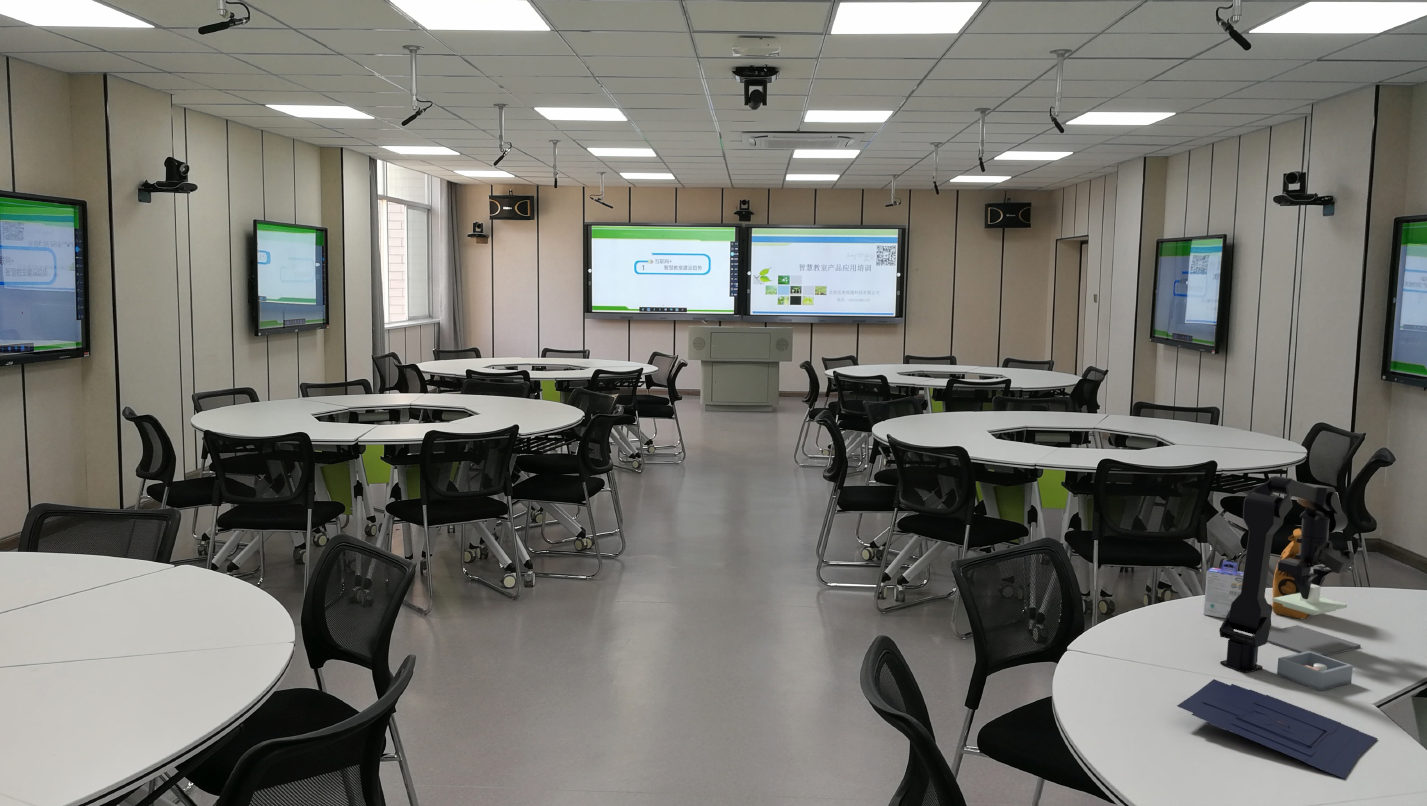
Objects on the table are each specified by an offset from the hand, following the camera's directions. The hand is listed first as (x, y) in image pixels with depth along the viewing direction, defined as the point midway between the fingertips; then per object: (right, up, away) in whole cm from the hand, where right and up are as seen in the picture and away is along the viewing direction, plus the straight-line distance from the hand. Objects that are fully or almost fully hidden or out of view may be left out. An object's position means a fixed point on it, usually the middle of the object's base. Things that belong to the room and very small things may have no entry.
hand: (1309, 598), depth 249 cm
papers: (-37, -17, -51) cm, 65 cm away
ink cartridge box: (-10, -9, +21) cm, 25 cm away
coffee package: (+10, -9, +25) cm, 29 cm away
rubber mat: (0, -11, +1) cm, 11 cm away
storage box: (-12, -14, -23) cm, 29 cm away
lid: (0, -3, 0) cm, 3 cm away
